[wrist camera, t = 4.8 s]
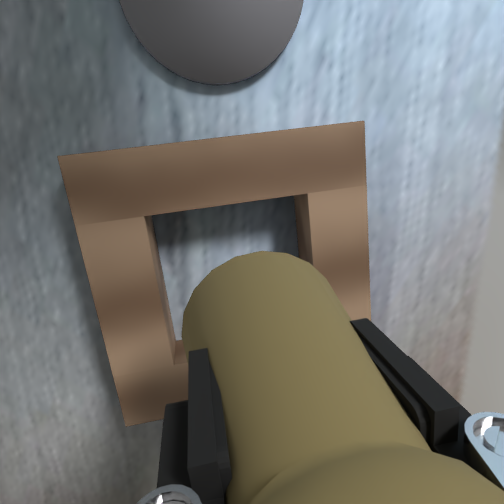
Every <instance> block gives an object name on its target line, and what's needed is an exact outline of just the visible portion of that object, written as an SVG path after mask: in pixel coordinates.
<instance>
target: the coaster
mask: <svg viewBox="0 0 504 504" xmlns="http://www.w3.org/2000/svg"><path fill="white" fill-rule="evenodd" d="M119 1H120V4H121V7H122V9H123V12H124V15H125V17H126V19H127V21H128V23H129V25H130V27H131V29H132V31H133V32H134V34H135V35H136V37H137V39H138V40H139V42H140V43H141V44H142V45H143V47H144V48H145V49H146V50H147V51H148V53H149V54H150V55H151V56H152V57H154V58H155V59H156V60H157V61H158V62H159V63H160V64H162V65H163V66H164V67H166V68H167V69H168V70H170V71H172V72H173V73H175V74H177V75H179V76H181V77H183V78H186V79H188V80H191V81H194V82H198V83H202V84H210V85H226V84H232V83H237V82H240V81H243V80H246V79H248V78H250V77H252V76H254V75H256V74H258V73H259V72H261V71H262V70H264V69H265V68H267V67H268V66H269V65H270V64H271V63H272V62H273V61H274V60H275V59H276V58H277V57H278V56H279V54H280V53H281V52H282V51H283V50H284V48H285V47H286V45H287V44H288V42H289V41H290V39H291V37H292V35H293V33H294V31H295V29H296V27H297V24H298V21H299V18H300V15H301V10H302V5H303V0H119Z"/></svg>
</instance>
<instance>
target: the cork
mask: <svg viewBox="0 0 504 504" xmlns="http://www.w3.org/2000/svg"><path fill="white" fill-rule="evenodd" d="M349 321H352V320H351V318H350V317H349V315H348V313H347V312H346V310H345V308H344V307H343V305H342V303H341V302H340V300H339V299H338V297H337V295H336V294H335V292H334V290H333V289H332V287H331V285H330V284H329V282H328V281H327V279H326V278H325V277H324V276H323V275H322V274H321V273H320V272H319V271H318V270H317V269H316V268H314V267H313V266H312V265H311V264H310V263H309V262H306V261H304V260H302V259H299V258H297V257H295V256H293V255H290V254H288V253H280V252H268V251H259V252H254V253H250V254H246V255H241V256H237V257H234V258H232V259H231V260H229V261H227V262H225V263H224V264H222V265H220V266H218V267H217V268H215V269H213V270H212V271H211V272H210V273H209V274H208V275H207V276H206V277H205V278H204V279H203V280H202V282H201V283H200V284H199V285H198V286H197V287H196V288H195V289H194V291H193V293H192V295H191V297H190V300H189V302H188V304H187V306H186V308H185V311H184V314H183V325H182V341H183V345H184V349H185V354H186V358H187V363H188V357H189V351H193V350H198V349H203V348H207V349H208V359H209V362H210V365H211V367H212V370H213V373H214V375H215V378H216V381H217V383H218V386H219V389H220V392H221V399H222V407H223V414H224V421H225V429H226V436H227V444H228V451H229V459H230V466H231V474H232V479H231V481H230V483H229V485H228V487H227V489H226V495H225V504H504V491H503V490H501V489H500V488H499V487H497V486H496V485H495V484H493V483H492V482H490V481H489V480H488V479H486V478H485V477H483V476H482V475H481V474H479V473H478V472H477V471H475V470H474V469H472V468H471V467H470V466H468V465H467V464H466V463H464V462H463V461H461V460H458V459H454V458H451V457H448V456H444V455H441V454H438V453H434V452H432V451H431V449H430V448H429V446H428V444H427V443H426V441H425V439H424V438H423V436H422V434H421V433H420V431H419V430H418V428H417V427H416V425H415V424H414V422H413V421H412V419H411V418H410V416H409V415H408V413H407V412H406V410H405V409H404V407H403V406H402V404H401V403H400V401H399V400H398V398H397V397H396V395H395V394H394V392H393V391H392V389H391V388H390V386H389V385H388V383H387V382H386V380H385V378H384V377H383V375H382V374H381V372H380V371H379V369H378V368H377V366H376V365H375V363H374V362H373V360H372V359H371V357H370V356H369V354H368V352H367V351H366V349H365V347H364V345H363V343H362V341H361V340H360V338H359V336H358V334H357V332H356V331H355V329H354V327H353V326H352V325H351V323H350V322H349Z"/></svg>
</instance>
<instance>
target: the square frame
mask: <svg viewBox="0 0 504 504" xmlns="http://www.w3.org/2000/svg"><path fill="white" fill-rule="evenodd" d="M57 157H58V161H59V165H60V169H61V173H62V177H63V181H64V185H65V189H66V193H67V197H68V201H69V204H70V208H71V212H72V216H73V220H74V224H75V228H76V232H77V236H78V240H79V244H80V248H81V252H82V256H83V260H84V264H85V268H86V272H87V275H88V279H89V283H90V287H91V291H92V295H93V299H94V303H95V307H96V311H97V315H98V319H99V323H100V327H101V331H102V335H103V339H104V343H105V346H106V350H107V354H108V358H109V362H110V366H111V370H112V374H113V378H114V382H115V386H116V390H117V394H118V398H119V402H120V406H121V410H122V414H123V417H124V421H125V425H126V427H127V426H132V425H137V424H141V423H146V422H151V421H156V420H160V419H164V411H165V406H166V404H170V403H175V402H179V401H184V400H188V363H187V358H186V354H185V349H184V345H183V341H182V340H178V341H176V339H175V334H174V329H173V324H172V319H171V313H170V308H169V303H168V298H167V293H166V288H165V283H164V277H163V272H162V267H161V262H160V257H159V252H158V247H157V241H156V236H155V231H154V226H153V221H152V216H151V215H157V214H164V213H171V212H178V211H186V210H193V209H200V208H207V207H214V206H221V205H228V204H236V203H243V202H250V201H257V200H264V199H271V198H278V197H286V196H293V195H294V204H295V216H296V227H297V239H298V251H299V259H302V260H304V261H306V262H309V263H310V264H311V265H312V266H313V267H314V268H316V269H317V270H318V271H319V272H320V273H321V274H322V275H323V276H324V277H325V278H326V279H327V281H328V282H329V284H330V285H331V287H332V289H333V290H334V292H335V294H336V295H337V297H338V299H339V300H340V302H341V303H342V305H343V307H344V308H345V310H346V312H347V313H348V315H349V317H350V318H351V320H357V319H363V318H367V319H369V320H370V321H371V307H370V276H369V246H368V215H367V185H366V154H365V124H364V121H357V122H349V123H340V124H331V125H323V126H314V127H305V128H297V129H288V130H279V131H271V132H262V133H254V134H245V135H236V136H228V137H219V138H210V139H202V140H193V141H184V142H176V143H167V144H159V145H150V146H141V147H133V148H124V149H115V150H107V151H98V152H90V153H81V154H72V155H64V156H57Z"/></svg>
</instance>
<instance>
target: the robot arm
mask: <svg viewBox="0 0 504 504" xmlns="http://www.w3.org/2000/svg"><path fill="white" fill-rule="evenodd" d="M349 322H350V323H351V325H352V326H353V327H354V329H355V331H356V332H357V334H358V336H359V338H360V340H361V341H362V343H363V345H364V347H365V349H366V351H367V352H368V354H369V356H370V357H371V359H372V360H373V362H374V363H375V365H376V366H377V368H378V369H379V371H380V372H381V374H382V375H383V377H384V378H385V380H386V382H387V383H388V385H389V386H390V388H391V389H392V391H393V392H394V394H395V395H396V397H397V398H398V400H399V401H400V403H401V404H402V406H403V407H404V409H405V410H406V412H407V413H408V415H409V416H410V418H411V419H412V421H413V422H414V424H415V425H416V427H417V428H418V430H419V431H420V433H421V434H422V436H423V438H424V439H425V441H426V443H427V444H428V446H429V448H430V449H431V451H432V452H434V453H438V454H441V455H444V456H448V457H451V458H454V459H458V460H461V461H463V462H464V463H466V464H467V465H468V466H470V467H471V468H472V469H474V470H475V471H477V472H478V473H479V474H481V475H482V476H483V477H485V478H486V479H488V480H489V481H490V482H492V483H493V484H495V485H496V486H497V487H499V488H500V489H501V490H503V491H504V414H501V413H496V412H481V413H476V414H474V415H471V414H470V413H469V412H468V411H467V410H466V409H465V408H464V407H463V406H462V405H460V404H459V403H458V402H457V401H456V400H455V399H454V398H453V397H452V396H451V395H450V394H449V393H448V392H447V391H446V390H445V389H444V388H442V387H441V386H440V385H439V384H438V383H437V382H436V381H435V380H434V379H433V378H432V377H431V376H430V375H429V374H428V373H427V372H425V371H424V370H423V369H422V368H421V367H420V366H419V365H418V364H417V363H416V362H415V361H414V360H413V359H412V358H410V357H409V356H407V355H406V354H405V353H403V352H402V351H401V350H400V349H399V348H398V347H397V346H396V345H395V344H394V343H393V342H392V341H391V340H390V339H389V338H388V337H387V336H386V335H385V334H384V333H382V332H381V331H380V330H379V329H378V328H377V327H376V326H375V325H374V324H373V323H372V322H371V321H370V320H369V319H367V318H363V319H357V320H352V321H349ZM231 479H232V474H231V466H230V459H229V451H228V444H227V436H226V429H225V421H224V414H223V407H222V399H221V392H220V389H219V386H218V383H217V381H216V378H215V375H214V373H213V370H212V367H211V365H210V362H209V359H208V349H207V348H203V349H198V350H193V351H189V357H188V400H184V401H179V402H175V403H170V404H166V406H165V411H164V421H163V432H162V442H161V452H160V462H159V472H158V482H157V489H155V490H153V491H151V492H149V493H148V494H147V495H146V496H144V497H143V498H142V499H141V500H140V501H139V502H138V503H137V504H225V495H226V489H227V487H228V485H229V483H230V481H231Z"/></svg>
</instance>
